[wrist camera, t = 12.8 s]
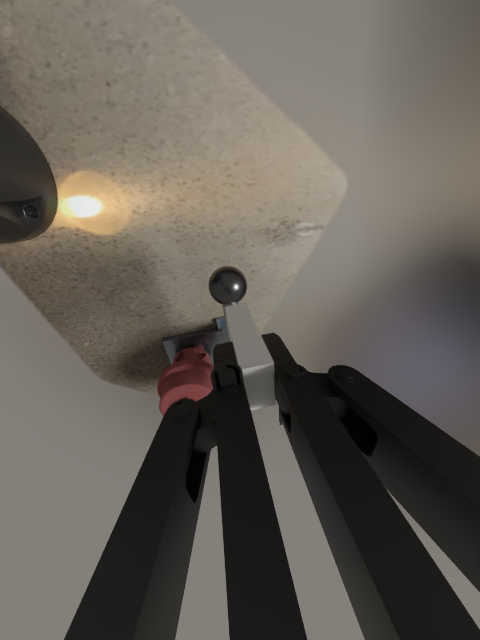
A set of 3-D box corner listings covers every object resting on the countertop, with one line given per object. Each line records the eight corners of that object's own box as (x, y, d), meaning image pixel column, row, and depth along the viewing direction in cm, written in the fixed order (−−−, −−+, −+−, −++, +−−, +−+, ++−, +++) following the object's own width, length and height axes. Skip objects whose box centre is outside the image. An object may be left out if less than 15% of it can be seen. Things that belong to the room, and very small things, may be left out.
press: (159, 328, 36) (138, 383, 24) (239, 313, 37) (255, 359, 25) (176, 373, 41) (166, 436, 29) (245, 359, 42) (261, 414, 31)
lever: (204, 265, 19) (205, 275, 16) (241, 259, 19) (248, 268, 16) (228, 383, 27) (232, 405, 24) (254, 377, 27) (261, 398, 24)
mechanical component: (219, 373, 42) (170, 379, 40) (217, 333, 37) (161, 338, 35) (225, 428, 31) (158, 439, 29) (222, 381, 26) (143, 391, 25)
